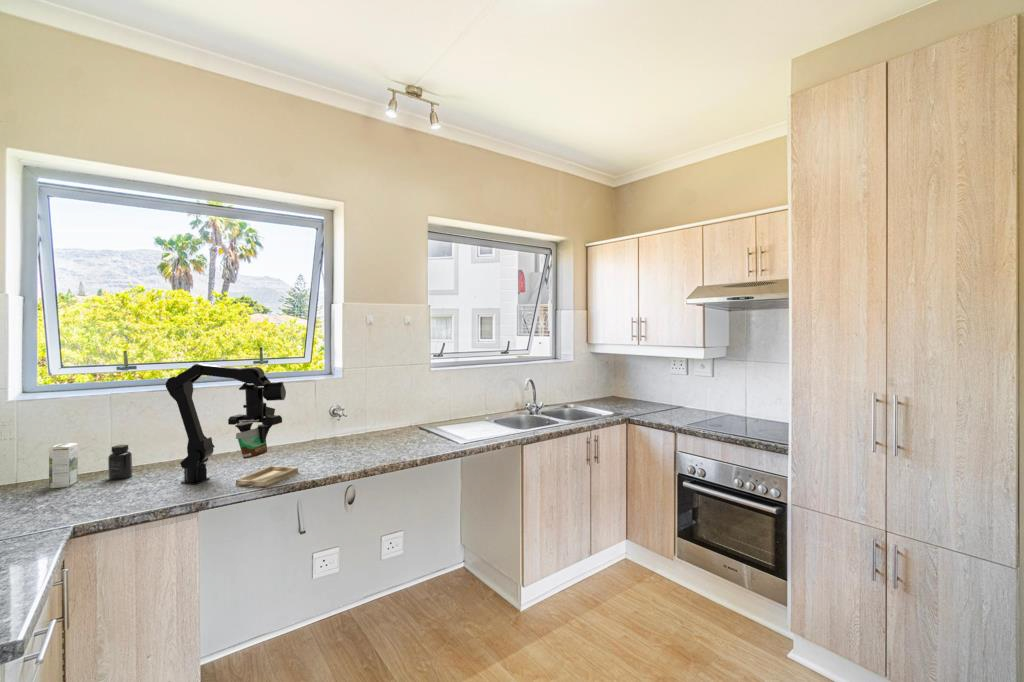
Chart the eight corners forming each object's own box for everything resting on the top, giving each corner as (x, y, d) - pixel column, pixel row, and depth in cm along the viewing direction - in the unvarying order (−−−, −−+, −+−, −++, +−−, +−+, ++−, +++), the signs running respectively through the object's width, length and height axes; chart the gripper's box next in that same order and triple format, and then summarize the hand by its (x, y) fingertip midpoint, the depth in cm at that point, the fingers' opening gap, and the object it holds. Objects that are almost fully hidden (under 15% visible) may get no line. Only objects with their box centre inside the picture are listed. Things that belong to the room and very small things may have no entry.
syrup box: (57, 483, 168) (57, 443, 168) (78, 481, 170) (77, 442, 170) (48, 488, 163) (47, 447, 162) (70, 486, 165) (69, 446, 164)
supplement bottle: (136, 475, 177) (136, 444, 177) (117, 481, 171) (116, 448, 170) (123, 474, 179) (123, 443, 179) (103, 479, 173) (103, 447, 172)
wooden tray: (235, 485, 166) (235, 480, 166) (271, 470, 184) (271, 465, 184) (265, 488, 164) (265, 482, 164) (298, 472, 182) (298, 467, 182)
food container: (255, 458, 168) (249, 431, 167) (240, 460, 169) (235, 433, 168) (278, 447, 180) (273, 422, 179) (264, 449, 181) (259, 424, 180)
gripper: (291, 398, 180) (292, 438, 180) (248, 397, 183) (250, 437, 184) (271, 402, 169) (272, 445, 169) (226, 402, 172) (227, 444, 173)
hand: (256, 442), depth 174 cm, fingers closed on food container, 5 cm apart
